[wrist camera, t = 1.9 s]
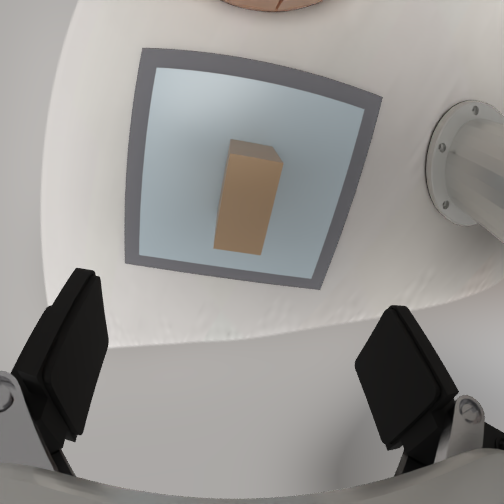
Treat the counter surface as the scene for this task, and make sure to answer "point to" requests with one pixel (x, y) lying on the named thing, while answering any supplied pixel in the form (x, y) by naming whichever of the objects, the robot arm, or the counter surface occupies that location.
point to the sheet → (202, 157)
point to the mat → (255, 71)
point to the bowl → (272, 4)
